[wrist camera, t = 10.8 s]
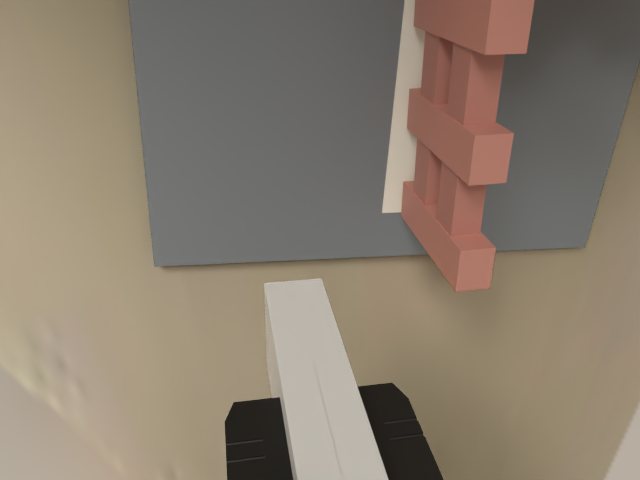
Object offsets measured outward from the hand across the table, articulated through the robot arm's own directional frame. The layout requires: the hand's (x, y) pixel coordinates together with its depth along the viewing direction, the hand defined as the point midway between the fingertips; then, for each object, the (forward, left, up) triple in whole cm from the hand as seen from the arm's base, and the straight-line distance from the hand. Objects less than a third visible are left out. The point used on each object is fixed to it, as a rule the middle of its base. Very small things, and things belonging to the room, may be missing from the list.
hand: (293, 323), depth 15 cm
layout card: (-5, +7, -13) cm, 15 cm away
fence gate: (-4, +7, -12) cm, 15 cm away
